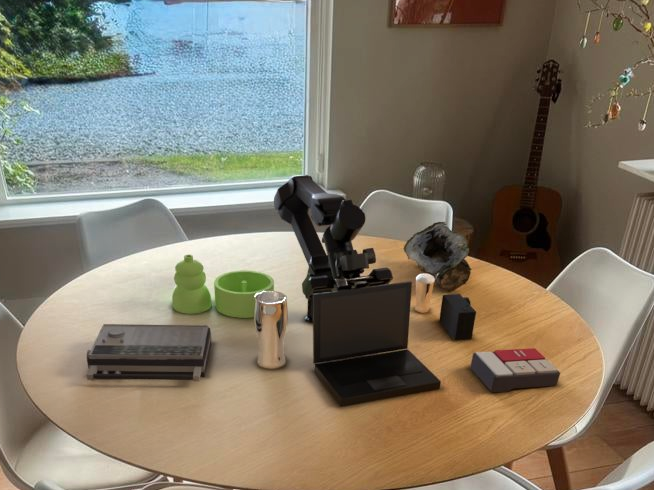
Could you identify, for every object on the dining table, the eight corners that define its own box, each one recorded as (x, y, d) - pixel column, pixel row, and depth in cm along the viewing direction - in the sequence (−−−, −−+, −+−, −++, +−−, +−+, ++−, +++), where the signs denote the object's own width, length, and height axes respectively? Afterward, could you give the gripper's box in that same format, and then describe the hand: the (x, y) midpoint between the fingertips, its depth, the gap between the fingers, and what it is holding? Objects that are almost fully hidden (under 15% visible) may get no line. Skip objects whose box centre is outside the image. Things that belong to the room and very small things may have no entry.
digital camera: (476, 339, 168) (481, 311, 164) (454, 340, 167) (459, 312, 163) (460, 320, 176) (464, 292, 172) (439, 321, 175) (442, 294, 171)
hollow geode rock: (453, 316, 189) (499, 276, 183) (422, 285, 182) (470, 242, 177) (426, 272, 211) (467, 235, 205) (398, 243, 204) (439, 204, 199)
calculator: (562, 370, 149) (496, 374, 146) (556, 388, 152) (491, 392, 148) (536, 345, 158) (473, 349, 154) (531, 363, 160) (469, 367, 157)
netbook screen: (412, 281, 152) (410, 280, 152) (314, 294, 145) (312, 293, 146) (407, 348, 160) (406, 347, 160) (314, 364, 153) (313, 362, 154)
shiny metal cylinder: (433, 315, 178) (438, 276, 172) (411, 312, 179) (416, 273, 173) (434, 307, 182) (439, 269, 176) (413, 305, 183) (417, 267, 177)
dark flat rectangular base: (439, 389, 149) (441, 380, 148) (341, 406, 143) (341, 398, 142) (407, 356, 161) (407, 348, 160) (314, 371, 154) (314, 363, 153)
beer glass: (263, 372, 154) (262, 306, 145) (250, 358, 159) (248, 293, 150) (292, 365, 156) (293, 300, 147) (278, 352, 161) (278, 288, 152)
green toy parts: (273, 293, 187) (273, 245, 180) (274, 317, 176) (274, 267, 168) (175, 293, 186) (171, 245, 178) (170, 318, 174) (165, 267, 167)
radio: (210, 320, 161) (200, 364, 145) (211, 342, 164) (202, 387, 148) (99, 319, 161) (78, 362, 145) (103, 341, 164) (82, 385, 148)
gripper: (309, 239, 146) (328, 312, 145) (393, 230, 152) (412, 300, 150) (296, 263, 157) (313, 331, 155) (374, 254, 162) (392, 320, 161)
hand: (357, 320), depth 155 cm, fingers closed
